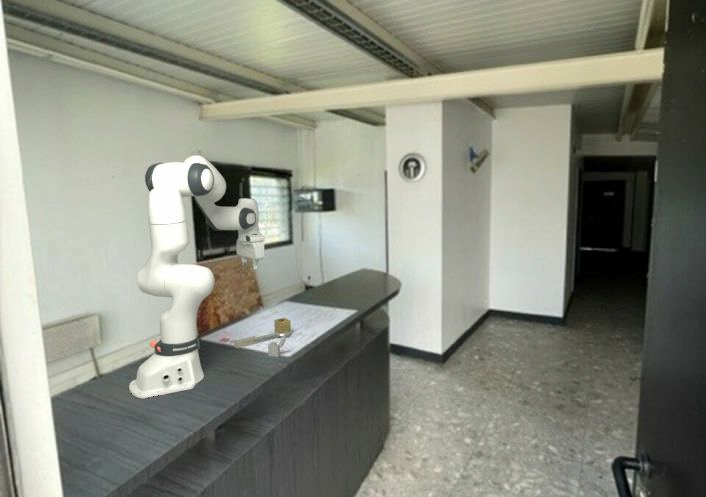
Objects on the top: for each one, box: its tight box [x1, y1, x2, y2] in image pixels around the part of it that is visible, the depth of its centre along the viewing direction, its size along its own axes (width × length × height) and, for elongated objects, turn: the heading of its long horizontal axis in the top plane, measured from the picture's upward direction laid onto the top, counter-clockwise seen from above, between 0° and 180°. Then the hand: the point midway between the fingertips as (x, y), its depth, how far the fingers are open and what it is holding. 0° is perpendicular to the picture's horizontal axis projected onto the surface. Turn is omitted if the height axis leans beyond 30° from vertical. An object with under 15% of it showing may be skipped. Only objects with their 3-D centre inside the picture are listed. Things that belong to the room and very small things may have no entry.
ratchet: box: [233, 330, 292, 349], centre depth 180 cm, size 25×7×6 cm, turn 129°
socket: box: [274, 317, 292, 334], centre depth 186 cm, size 5×5×5 cm
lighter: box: [267, 336, 287, 358], centre depth 163 cm, size 7×2×8 cm, turn 74°
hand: (250, 267), depth 188 cm, fingers open, 8 cm apart
